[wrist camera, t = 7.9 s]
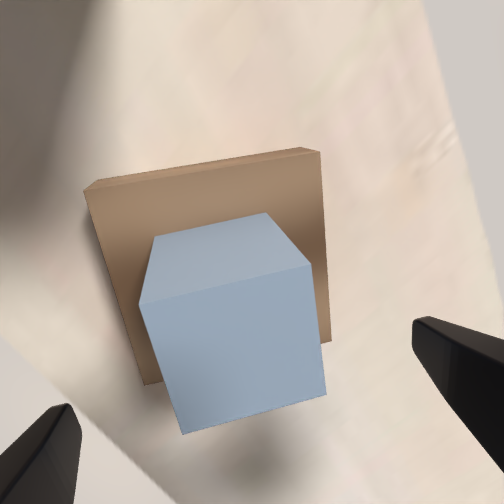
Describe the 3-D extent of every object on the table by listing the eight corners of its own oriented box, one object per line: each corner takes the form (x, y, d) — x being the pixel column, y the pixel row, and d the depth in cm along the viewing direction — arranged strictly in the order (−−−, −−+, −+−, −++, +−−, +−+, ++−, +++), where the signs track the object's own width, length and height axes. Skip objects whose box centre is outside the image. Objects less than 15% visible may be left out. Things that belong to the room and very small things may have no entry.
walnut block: (310, 310, 20) (331, 341, 17) (149, 346, 19) (144, 385, 16) (296, 146, 17) (319, 151, 14) (100, 177, 16) (83, 190, 13)
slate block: (281, 307, 16) (326, 394, 11) (182, 331, 16) (182, 434, 11) (266, 212, 14) (310, 263, 9) (154, 236, 14) (138, 304, 9)
